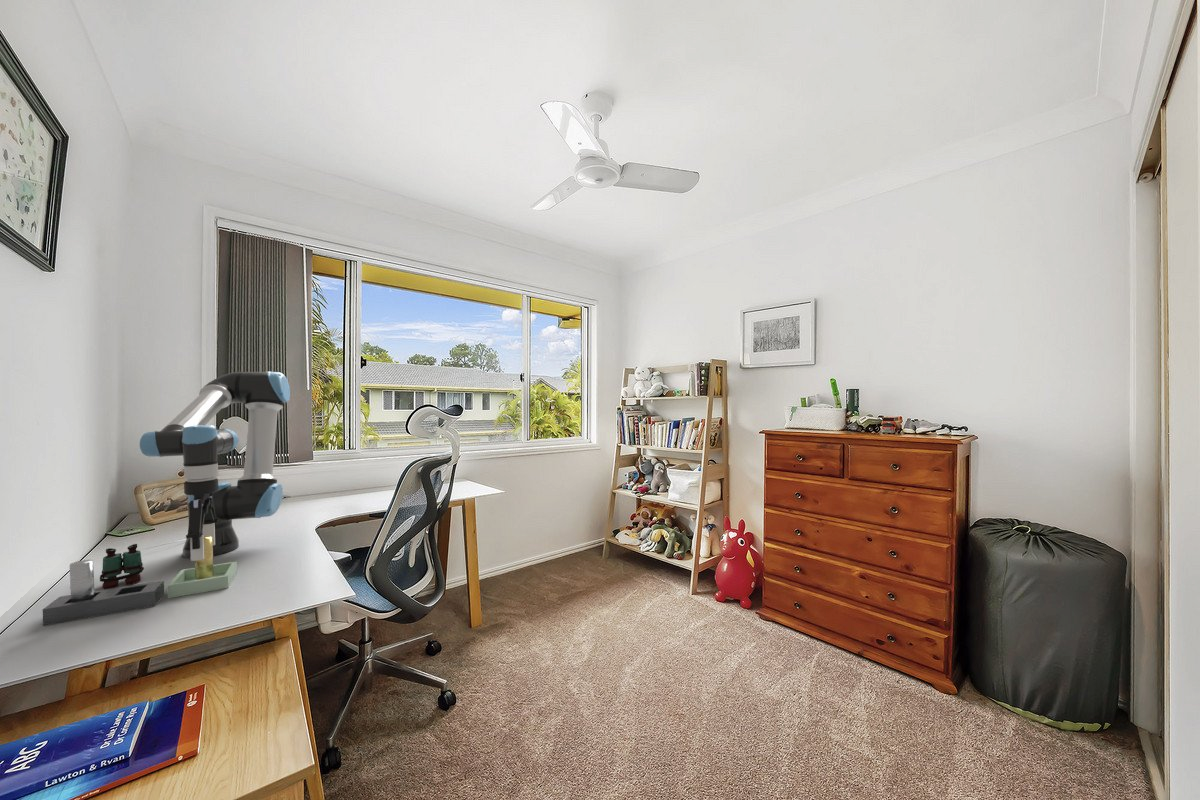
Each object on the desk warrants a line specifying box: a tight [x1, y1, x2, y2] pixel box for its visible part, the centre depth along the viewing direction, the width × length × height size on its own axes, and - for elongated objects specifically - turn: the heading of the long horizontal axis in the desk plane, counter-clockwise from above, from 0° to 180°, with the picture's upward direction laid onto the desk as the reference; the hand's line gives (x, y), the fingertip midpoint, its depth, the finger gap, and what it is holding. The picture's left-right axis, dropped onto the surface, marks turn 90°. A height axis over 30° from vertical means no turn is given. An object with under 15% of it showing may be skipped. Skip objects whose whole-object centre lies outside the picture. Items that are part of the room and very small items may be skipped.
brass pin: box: [194, 536, 214, 580], centre depth 135 cm, size 4×4×13 cm
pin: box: [69, 559, 95, 603], centre depth 118 cm, size 4×4×13 cm
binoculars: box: [99, 543, 145, 590], centre depth 136 cm, size 9×11×10 cm
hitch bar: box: [42, 579, 166, 627], centre depth 120 cm, size 8×20×4 cm, turn 119°
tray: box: [166, 561, 238, 599], centre depth 135 cm, size 13×13×3 cm
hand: (203, 552), depth 135 cm, fingers open, 13 cm apart
